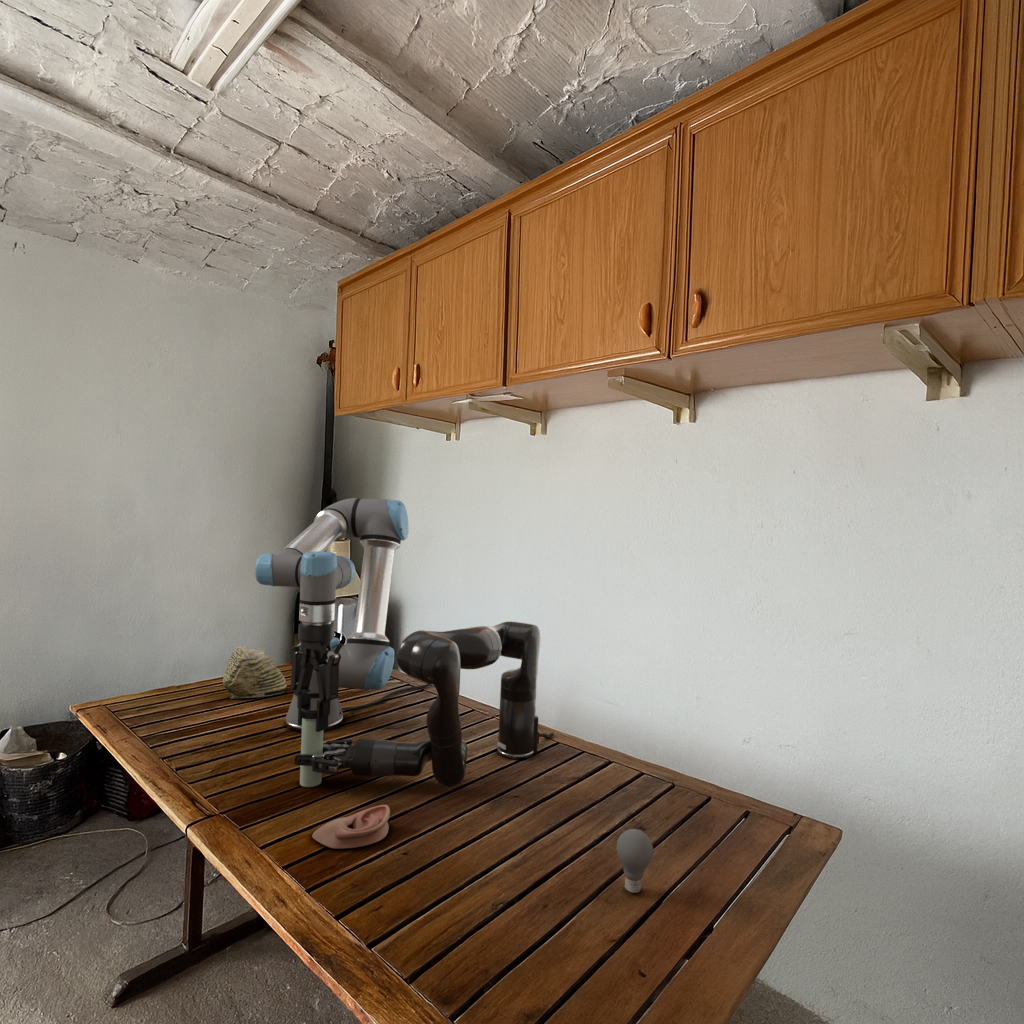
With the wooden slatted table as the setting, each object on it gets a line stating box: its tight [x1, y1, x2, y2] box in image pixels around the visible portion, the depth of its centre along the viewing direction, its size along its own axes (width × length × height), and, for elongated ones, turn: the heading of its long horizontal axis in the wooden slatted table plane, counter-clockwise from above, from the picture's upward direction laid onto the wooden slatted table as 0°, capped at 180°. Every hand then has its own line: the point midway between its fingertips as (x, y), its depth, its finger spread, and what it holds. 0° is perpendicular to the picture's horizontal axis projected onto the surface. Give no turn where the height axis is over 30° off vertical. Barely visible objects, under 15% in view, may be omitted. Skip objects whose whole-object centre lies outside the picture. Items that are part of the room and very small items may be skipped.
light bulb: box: [615, 828, 654, 894], centre depth 106 cm, size 6×6×10 cm
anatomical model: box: [311, 804, 391, 850], centre depth 119 cm, size 13×4×12 cm
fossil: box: [222, 646, 288, 699], centre depth 198 cm, size 9×18×15 cm, turn 132°
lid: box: [301, 703, 317, 719], centre depth 140 cm, size 5×5×2 cm
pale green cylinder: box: [299, 718, 324, 788], centre depth 140 cm, size 5×5×16 cm
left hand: (312, 726), depth 140 cm, fingers closed on lid, 5 cm apart
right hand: (299, 754), depth 140 cm, fingers closed on pale green cylinder, 4 cm apart
